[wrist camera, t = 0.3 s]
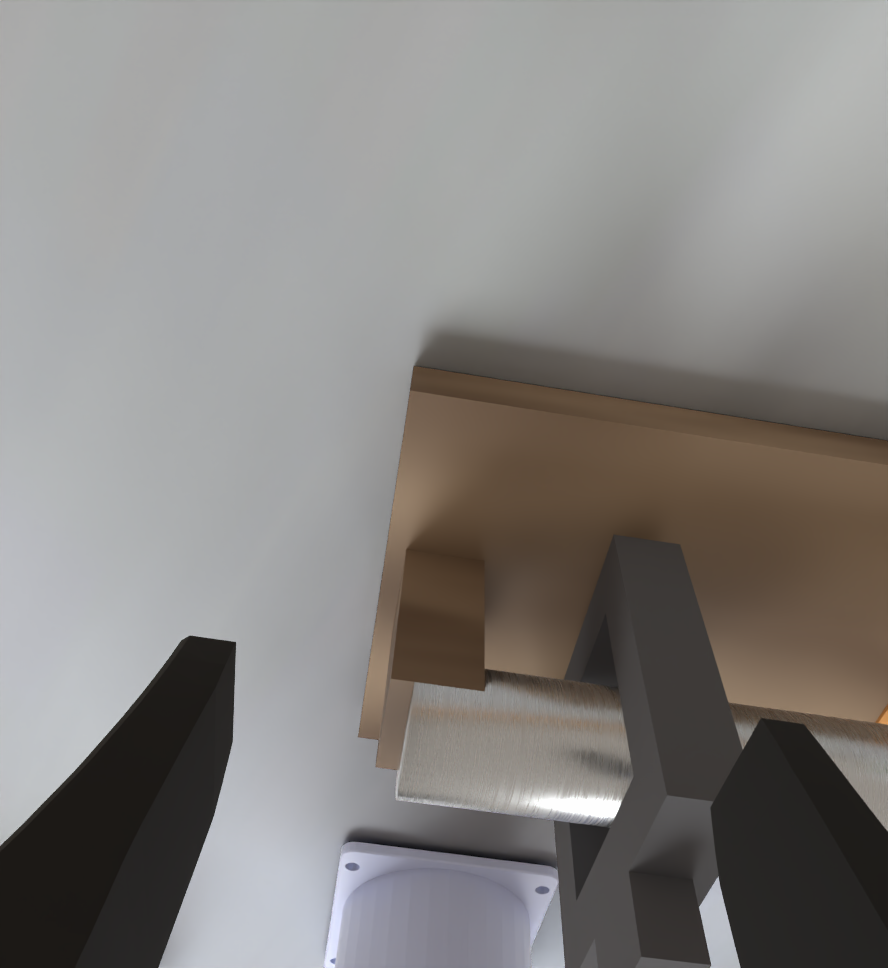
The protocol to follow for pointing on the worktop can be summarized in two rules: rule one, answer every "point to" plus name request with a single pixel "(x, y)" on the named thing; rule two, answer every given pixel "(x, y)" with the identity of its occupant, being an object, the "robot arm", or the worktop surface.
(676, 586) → the grey pipe bracket
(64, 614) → the worktop surface
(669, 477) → the pipe stand
